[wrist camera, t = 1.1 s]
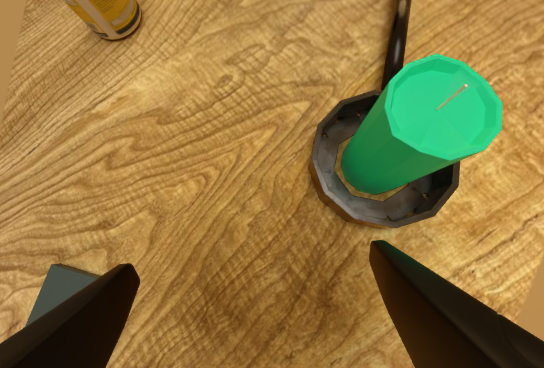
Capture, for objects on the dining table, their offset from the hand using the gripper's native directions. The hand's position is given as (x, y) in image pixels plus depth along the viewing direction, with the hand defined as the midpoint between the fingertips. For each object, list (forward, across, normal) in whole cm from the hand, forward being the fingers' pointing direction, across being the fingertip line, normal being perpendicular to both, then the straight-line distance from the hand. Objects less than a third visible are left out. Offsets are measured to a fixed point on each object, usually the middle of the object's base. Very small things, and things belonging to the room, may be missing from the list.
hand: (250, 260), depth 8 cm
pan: (+19, -13, -3) cm, 23 cm away
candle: (+14, -10, +3) cm, 18 cm away
